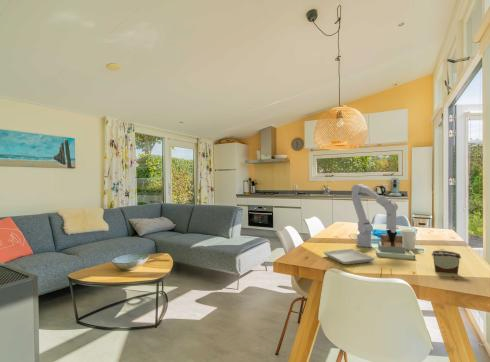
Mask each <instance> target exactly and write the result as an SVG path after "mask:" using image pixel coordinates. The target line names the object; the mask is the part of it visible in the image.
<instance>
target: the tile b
mask: <svg viewBox="0 0 490 362" xmlns="http://www.w3.org/2000/svg"><path fill="white" fill-rule="evenodd" d="M394 246H395V247H400V248H402V243H401V242H394Z"/></svg>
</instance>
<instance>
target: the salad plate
mask: <svg viewBox="0 0 490 362" xmlns="http://www.w3.org/2000/svg"><path fill="white" fill-rule="evenodd" d="M323 255H325V256H327V257H328V258H330V259H331V260H332V259H333V260H334V261H336V262H339V263H341V264H342V265H356V264H364V263H370V262H373V261H374V260H375V257H374V256H371V255H368V254H366V253H363V252H361V251H359V250H357V249H356V250H355V249H353V248H347V249H346V248H345V249H338V250H337V249H336V250H329V251H328V250H327V251H323Z"/></svg>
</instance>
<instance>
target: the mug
mask: <svg viewBox="0 0 490 362" xmlns="http://www.w3.org/2000/svg"><path fill="white" fill-rule="evenodd" d="M400 235H402V245H403V246H404V247H405V250H409V251H413V250H414V251H415V250H416V246H415V245H416V244H415V243H416V239H417V235H416V231H415V230H412V229H400Z"/></svg>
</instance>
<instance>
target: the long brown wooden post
mask: <svg viewBox="0 0 490 362" xmlns="http://www.w3.org/2000/svg"><path fill="white" fill-rule="evenodd" d="M383 241H389V242H390V240H389V235H388V234H387V233H385V234H384V233H383V234H382V233H381V234H380V242H381V244H383ZM394 242H401V243H402V235H401V234H396V236H395V240H394ZM394 242H391V245H394Z"/></svg>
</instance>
